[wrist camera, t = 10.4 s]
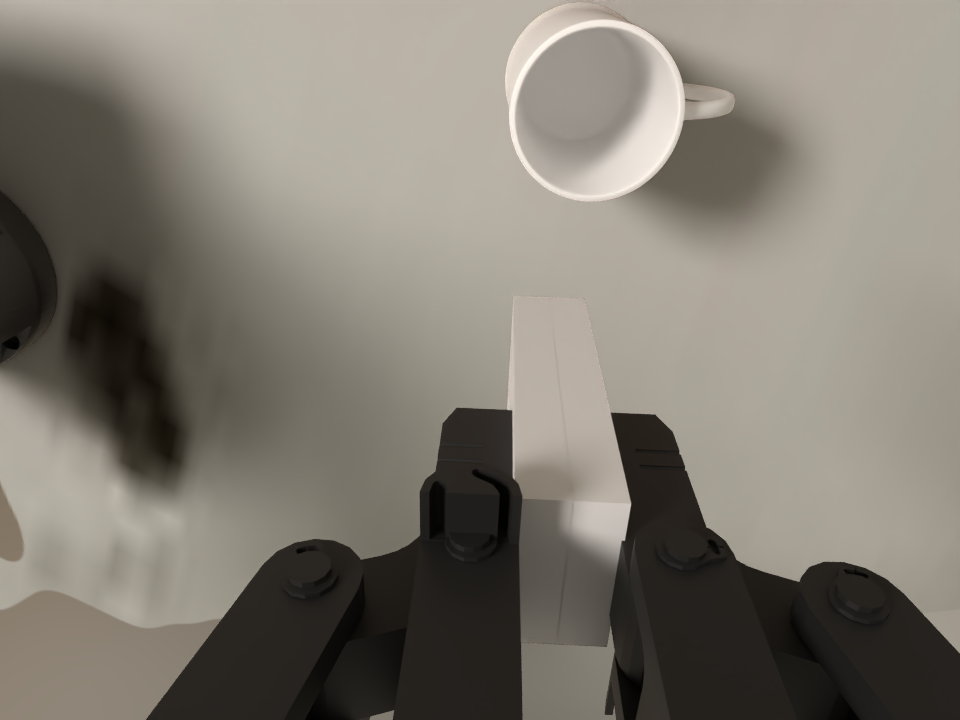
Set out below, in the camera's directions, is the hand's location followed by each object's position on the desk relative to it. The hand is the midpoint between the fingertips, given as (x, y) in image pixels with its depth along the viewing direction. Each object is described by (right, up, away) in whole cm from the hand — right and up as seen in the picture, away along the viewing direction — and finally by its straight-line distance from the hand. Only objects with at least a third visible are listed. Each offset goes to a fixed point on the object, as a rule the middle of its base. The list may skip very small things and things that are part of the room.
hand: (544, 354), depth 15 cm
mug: (+6, +17, +28) cm, 33 cm away
